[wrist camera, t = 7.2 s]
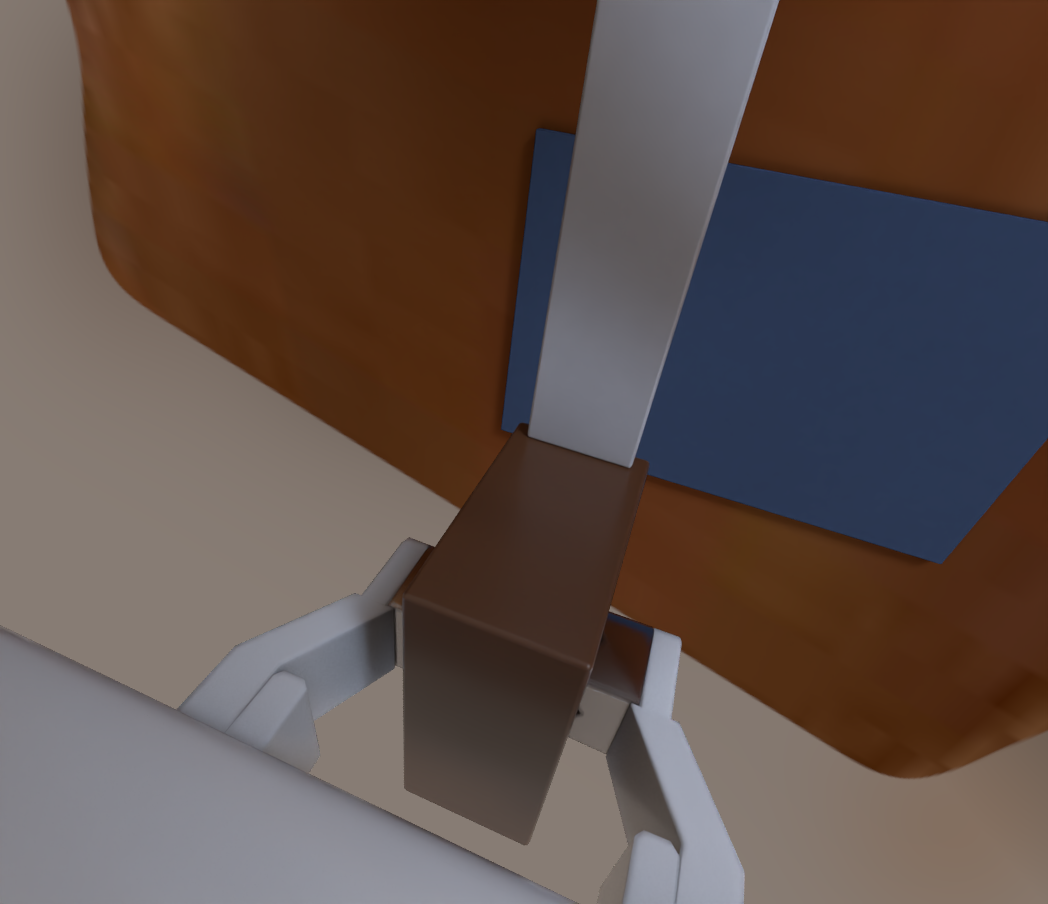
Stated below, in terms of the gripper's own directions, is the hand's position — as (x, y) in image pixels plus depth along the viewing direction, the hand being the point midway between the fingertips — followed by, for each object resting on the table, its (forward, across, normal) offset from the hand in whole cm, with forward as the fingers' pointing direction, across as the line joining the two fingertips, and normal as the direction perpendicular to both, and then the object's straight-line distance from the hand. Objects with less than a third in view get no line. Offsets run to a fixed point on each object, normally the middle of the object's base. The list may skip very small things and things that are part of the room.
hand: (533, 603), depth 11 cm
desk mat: (+15, -4, 0) cm, 15 cm away
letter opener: (+2, 0, -3) cm, 4 cm away
